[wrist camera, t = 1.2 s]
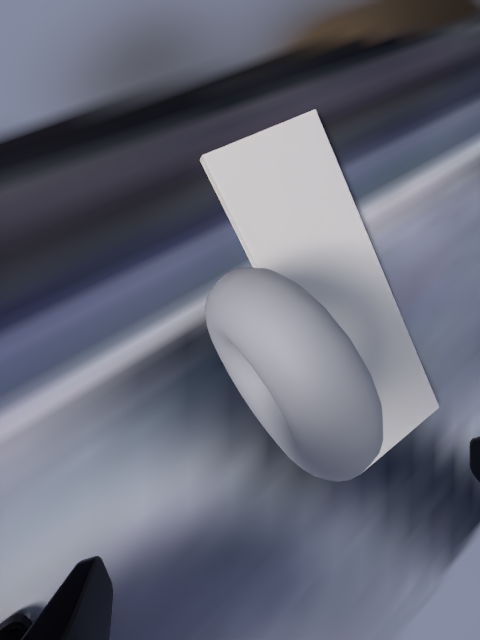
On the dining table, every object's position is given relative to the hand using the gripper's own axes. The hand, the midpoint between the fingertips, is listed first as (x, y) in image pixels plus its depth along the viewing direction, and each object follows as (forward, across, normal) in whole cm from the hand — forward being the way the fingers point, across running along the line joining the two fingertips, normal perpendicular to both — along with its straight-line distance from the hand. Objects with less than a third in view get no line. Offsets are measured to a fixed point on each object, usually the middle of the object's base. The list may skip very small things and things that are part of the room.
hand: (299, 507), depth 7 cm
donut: (+12, -1, +1) cm, 12 cm away
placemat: (+14, -7, -1) cm, 15 cm away
